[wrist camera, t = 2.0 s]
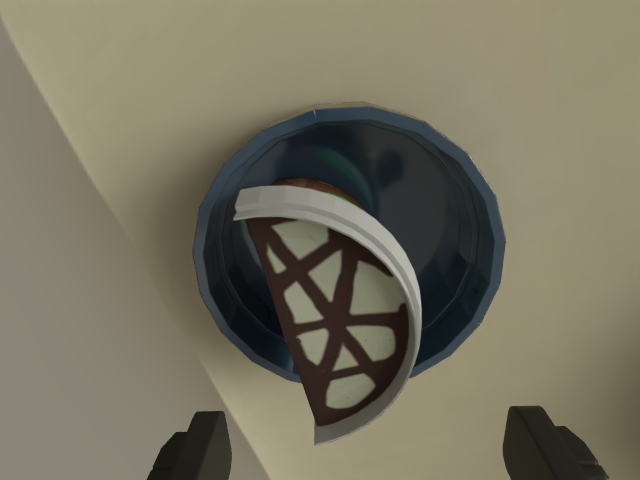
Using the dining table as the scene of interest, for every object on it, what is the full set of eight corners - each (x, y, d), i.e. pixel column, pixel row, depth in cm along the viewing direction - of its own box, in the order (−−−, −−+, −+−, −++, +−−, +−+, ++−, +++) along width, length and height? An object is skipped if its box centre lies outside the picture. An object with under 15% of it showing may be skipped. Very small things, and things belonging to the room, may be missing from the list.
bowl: (199, 109, 23) (166, 117, 18) (484, 94, 22) (525, 97, 18) (236, 342, 29) (218, 393, 24) (461, 336, 28) (487, 386, 24)
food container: (409, 310, 27) (452, 431, 18) (321, 328, 28) (317, 454, 18) (372, 127, 22) (402, 160, 13) (268, 155, 23) (227, 204, 14)
